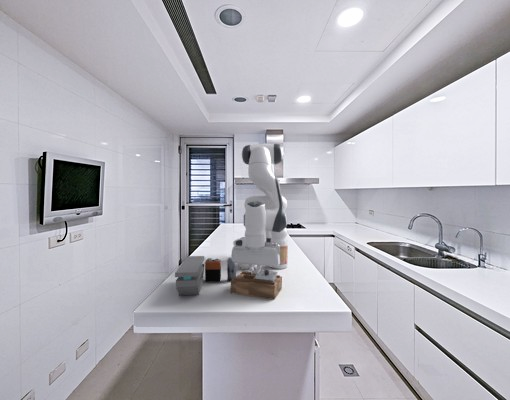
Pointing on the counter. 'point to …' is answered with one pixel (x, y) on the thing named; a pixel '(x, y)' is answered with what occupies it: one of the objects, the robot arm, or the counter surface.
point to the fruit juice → (281, 247)
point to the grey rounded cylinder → (231, 270)
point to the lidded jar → (244, 266)
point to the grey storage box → (190, 276)
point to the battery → (212, 270)
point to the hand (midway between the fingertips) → (255, 275)
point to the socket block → (255, 286)
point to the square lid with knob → (267, 275)
